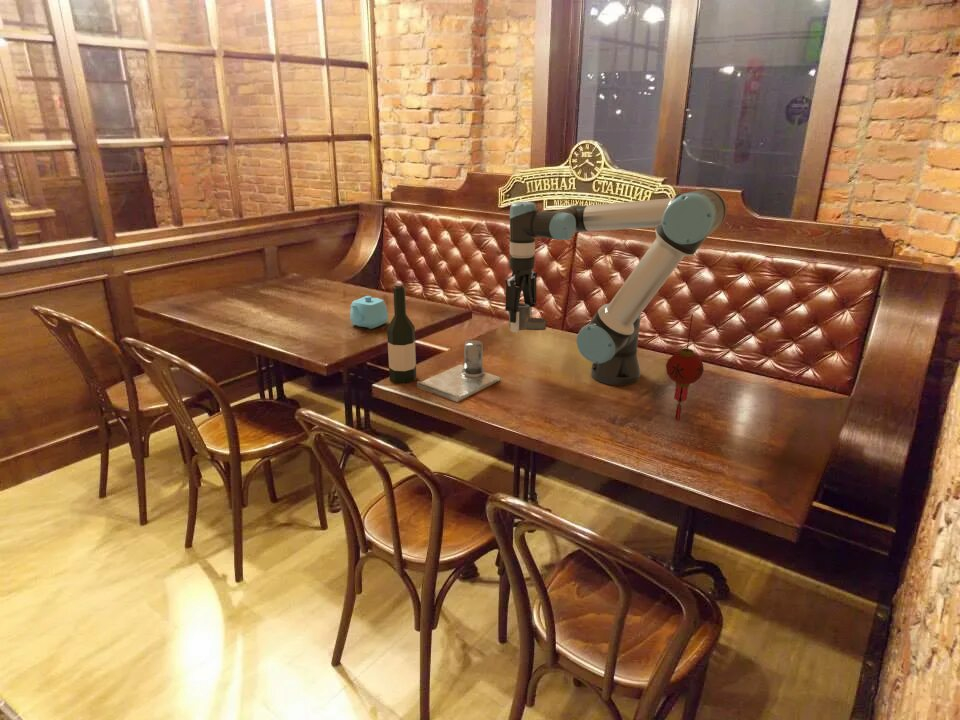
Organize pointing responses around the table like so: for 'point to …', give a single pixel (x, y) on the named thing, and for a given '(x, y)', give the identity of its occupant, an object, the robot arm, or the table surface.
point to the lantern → (684, 373)
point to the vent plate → (461, 376)
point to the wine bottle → (401, 341)
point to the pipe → (528, 319)
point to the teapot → (368, 312)
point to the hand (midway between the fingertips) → (520, 328)
